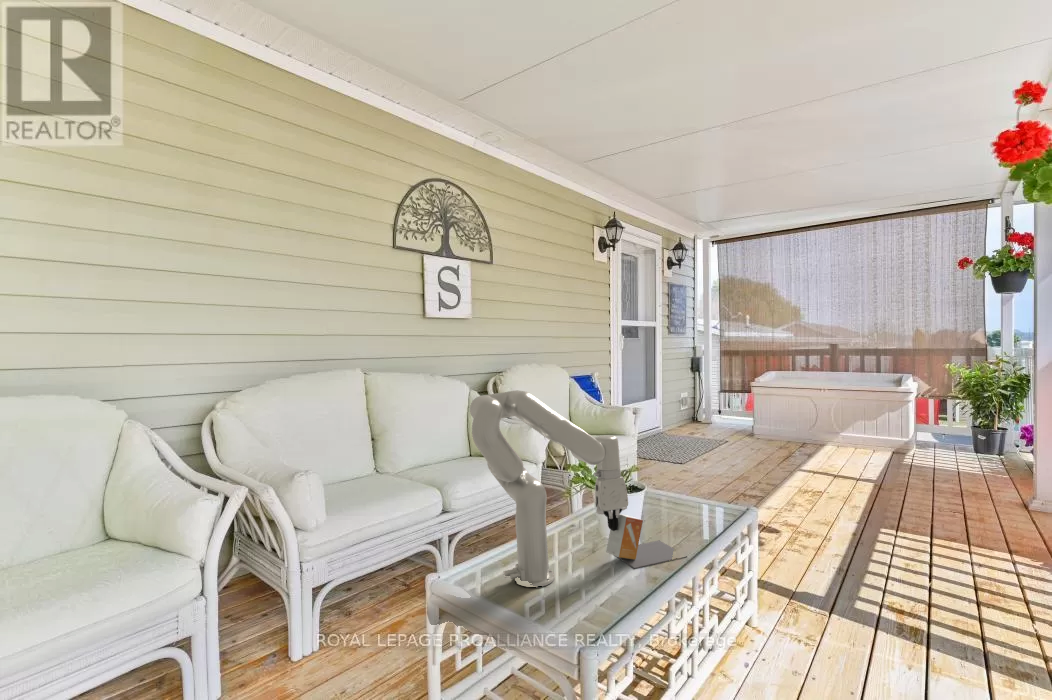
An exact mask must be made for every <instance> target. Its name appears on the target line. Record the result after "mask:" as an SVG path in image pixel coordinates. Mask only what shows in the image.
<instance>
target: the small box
mask: <svg viewBox="0 0 1052 700" xmlns="http://www.w3.org/2000/svg"><path fill="white" fill-rule="evenodd" d="M643 521H644V519H641V518H638V517H635V516H632V515H627V514H622V513H620V514H619V517H618V530H615V531H612V530H611V529H609V534H608V539H607V545H606V551H605V552H606V553H608V554H609V555H612V556H614V557H617V558H618V557H621V558H627V559H633V560H635V559H636V555H637V549H638V545H639V544H640V543H639V542H640V539H641V538H640V537H641V532H642V527H643V523H644V522H643Z"/></svg>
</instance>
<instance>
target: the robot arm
mask: <svg viewBox="0 0 1052 700" xmlns="http://www.w3.org/2000/svg"><path fill="white" fill-rule="evenodd" d="M469 412H470V413H469V414H470V416H471V417H472V418H473V419H472V423H471V424H472V425H471V434H472V435H471V437H472V440H473V442H474V444H475V446H476V448H477V449H478V450H479V452H480V454H481V455H482V456H483V458H484V460H485V461H486V463H487V468H488V469H489V471H490V473H491V474H492V476H493V477H494V478H495V480H496V481H497V482H498V483H499V484H500V486H501V488H502V489H503V490H504V492H506V493H507V495H508V496H509V497H510V498H511V499H512V500H513V501H514V502H515V533H516V551H517V552H516V553H517V563H516V564H515V567H513V568H512V569H507V570H503V572H502V573H504V574H503V576H504V575H505V576H510V577H509V579H510V580H514V578H517V577H518V578H520V580H521V581H528V582H529V583H532V584H530V585H533V586H542V587H545V586H548V585H550V584H551V583H552V582H554V580H555V573H554V571H553V570H552V569H550V565H549V551H548V549H549V548H548V535H547V534H548V533H547V531H548V530H547V521H546V519H547V517H546V516H547V515H546V514H547V513H546V510H547V498H548V497H547V491H546V488H545V486H544V484H543V483H542V482H541V481H540V480H539V479H538V478H536V477H535V476H533V475H531V474H530V473H529V472H528V470H527V469H526V468H525V466H524V462H523V459H522V457H520V455H519V454H518V453H517V452H516V451H515V450H514V448H513V447H512V446H511V444H510V443H509V442H508V441H507V440H506V438H505V437H504V435H503V434H502V432H501V429H500V423H501V421H502V419H506V418H512V417H516V418H518V419H519V420H520V421H522V422H523V423H525V424H526V425H527V426H528V427H530V428H532V429H533V430H534V431H536V432H537V433H538V434H540V435H541V436H543V437H544V438H546V439H548V440H549V441H551V442H554V443H555V444H558V445H561V446H562V447H564V448H565V449H567V450H569V451H570V453H571V454H572V456H573V457H574V459H577V460H579V461H581V462H584V463H585V464H587V465H591V466H595V465H596V472H594V473H593V476H594V477H596V480H595V485H594V486H595V487H594V488H595V489H594V500H595V507H596V513H597V514H598V515H603V516H605V517H606V519H607V527H608V528H609V530H610V529H611V530H612V531H615V530H618V517H619V514H622V512H623V511H625V510H626V509H628V506H629V497H628V489H627V485H626V481H625V478H624V476H622V473H621V460H620V450H619V449H620V448H619V440H618V439H619V438H618V437H617V436H615V435H611V434H606V435H605V434H604V435H599V436H595V437H594V436H592V435H591V434H589V433H587V432H586V431H585V430H583V429H582V428H580V427H579V426H577V425H576V424H574V423H573V422H571V421H570V420H569V419H567V418H565V417H564V416H563V415H561V414H559V413H558V412H557V411H555V410H554V409H552V408H551V407H550V406H548V405H547V404H546V403H544V402H543V401H542V400H540V398H538V397H536V396H535V395H534V394H532V393H530V392H528V391H524V390H511V391H503V392H497V393H490V394H489V393H488V394H483V395H478V396H476V397H475V398H474V399H473V400H472V401H471V403H470V405H469Z"/></svg>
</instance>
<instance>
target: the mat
mask: <svg viewBox="0 0 1052 700" xmlns="http://www.w3.org/2000/svg"><path fill="white" fill-rule="evenodd" d="M674 549H675V548H673V547H672V546H670V545H669V544H667V543H665V542H663V541H661V540H655V541H650V542H645V543H639V544H638V549H637V555H636V559H635V560H633V559H627V558H621V557H617V558H618V559H620V560H621V561H623V562H624V563H625V564H626V565H628V566H629V567H631V568H633V569H634V570H636V569H641V568H646V567H650V566H654V565H659V564H663V562H664V563H666V562H665V561H668V562H670V561H669V560H672V557H673V556H672V555H673V551H674ZM672 561H673V560H672Z"/></svg>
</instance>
